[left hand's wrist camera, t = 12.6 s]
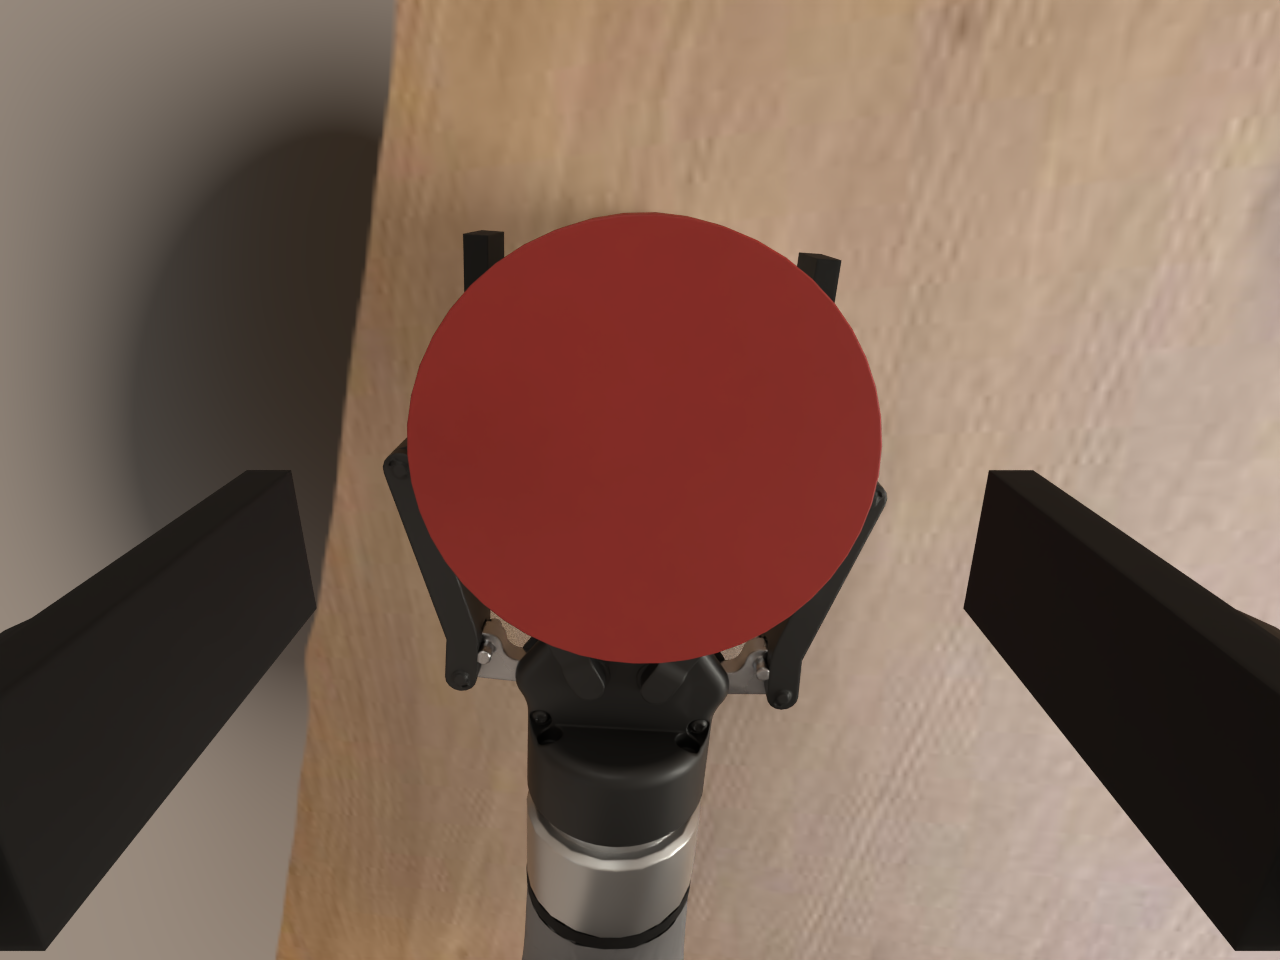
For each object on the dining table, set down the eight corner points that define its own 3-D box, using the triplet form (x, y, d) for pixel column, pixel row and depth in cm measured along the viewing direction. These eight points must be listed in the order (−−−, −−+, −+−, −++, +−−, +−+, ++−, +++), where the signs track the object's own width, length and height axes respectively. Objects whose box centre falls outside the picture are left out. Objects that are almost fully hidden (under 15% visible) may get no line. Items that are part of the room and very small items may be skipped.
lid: (894, 224, 16) (923, 227, 15) (827, 632, 20) (844, 672, 18) (415, 200, 16) (388, 200, 14) (440, 616, 20) (421, 655, 18)
